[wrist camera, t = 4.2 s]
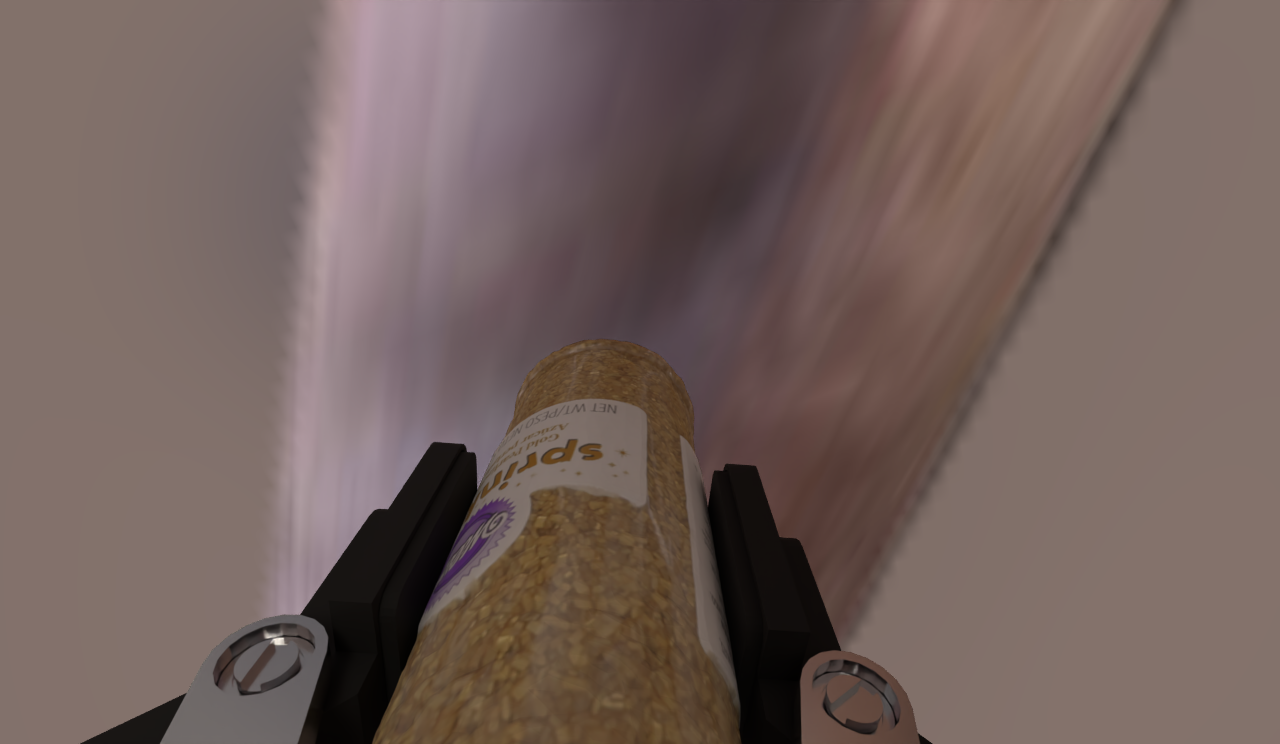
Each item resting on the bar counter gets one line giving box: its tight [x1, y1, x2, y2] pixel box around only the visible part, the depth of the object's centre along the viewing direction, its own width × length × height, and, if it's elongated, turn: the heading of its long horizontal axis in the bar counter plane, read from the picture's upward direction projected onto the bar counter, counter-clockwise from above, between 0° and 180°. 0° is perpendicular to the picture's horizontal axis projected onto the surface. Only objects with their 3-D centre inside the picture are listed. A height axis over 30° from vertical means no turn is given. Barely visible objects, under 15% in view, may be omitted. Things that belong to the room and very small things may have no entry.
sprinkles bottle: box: [372, 339, 741, 744], centre depth 9 cm, size 5×5×13 cm
